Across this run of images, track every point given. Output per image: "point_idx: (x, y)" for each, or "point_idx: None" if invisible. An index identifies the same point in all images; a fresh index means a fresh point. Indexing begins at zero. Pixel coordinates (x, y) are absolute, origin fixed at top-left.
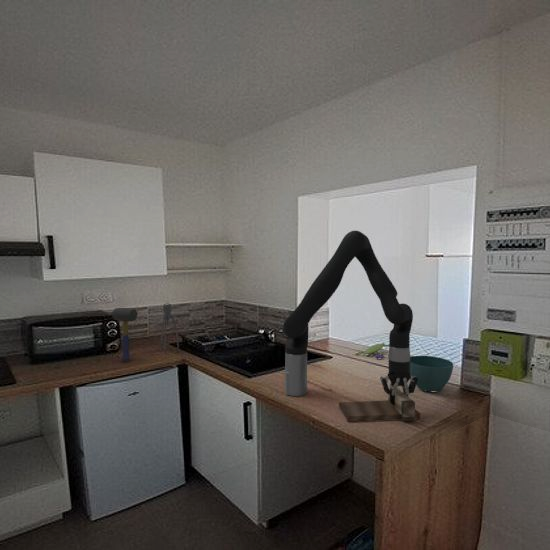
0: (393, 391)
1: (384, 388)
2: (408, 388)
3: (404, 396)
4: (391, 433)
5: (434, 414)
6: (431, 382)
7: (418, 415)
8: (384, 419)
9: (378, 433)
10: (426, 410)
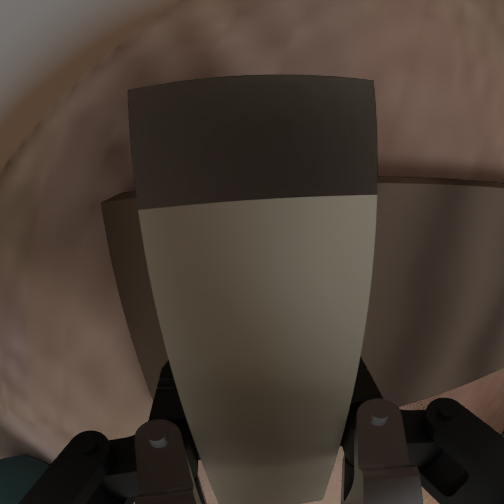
0: (388, 442)
1: (451, 462)
2: (131, 496)
3: (232, 375)
4: (426, 2)
5: (16, 268)
6: (19, 489)
7: (122, 197)
8: (426, 178)
9: (484, 32)
10: (51, 327)
